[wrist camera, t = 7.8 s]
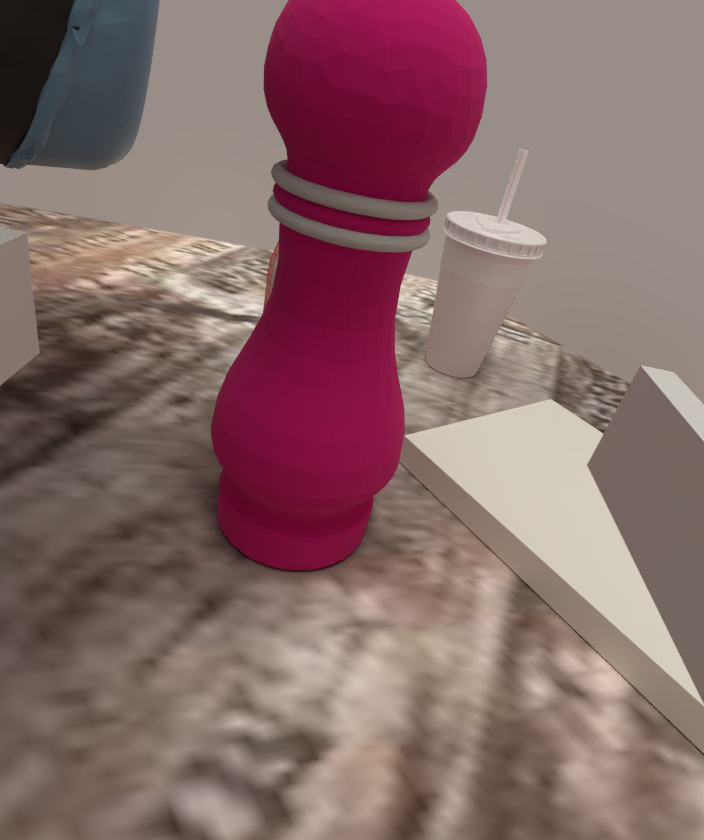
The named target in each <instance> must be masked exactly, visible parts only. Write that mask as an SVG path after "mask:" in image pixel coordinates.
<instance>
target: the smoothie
mask: <svg viewBox="0 0 704 840" xmlns="http://www.w3.org/2000/svg"><path fill="white" fill-rule="evenodd" d="M528 152H529V151H527V150H524V149H519V152H518V155H517V158H516V161H515V164H514V167H513V171H512V173H511V176H510V179H509V183H508V186H507V189H506V192H505V195H504V198H503V201H502V204H501V207H500V210H499V213H498V217H495V216H490V215H486V214H481V213H475V212H467V211H454V212H450V213H449V214H447V217H446V221H445V224H444V226H443V227H442V231H443V233H444V234H446V239H445V244H444V250H443V255H442V261H441V268H440V274H439V280H438V286H437V292H436V298H435V304H434V310H433V316H432V322H431V329H430V335H429V341H428V347H427V353H426V362H427V363H428V364H429V365H430V366H431V367H432V368H433V369H435V370H437V371H439V372H441V373H443V374H446V375H449V376H453V377H459V378H468V377H472V376H474V375H475V374H476V373H477V371H478V369H479V367H480V365H481V363H482V361H483V359H484V357H485V355H486V353H487V351H488V349H489V347H490V346H491V344H492V342H493V340H494V338H495V336H496V334H497V332H498V330H499V328H500V326H501V324H502V322H503V320H504V319H505V317H506V315H507V313H508V311H509V309H510V307H511V305H512V303H513V301H514V299H515V297H516V295H517V293H518V291H519V290H520V288H521V286H522V284H523V282H524V280H525V278H526V276H527V274H528V272H529V270H530V268H531V266H532V264H533V262H534V261H535V260H537V259H539V258H542V255H543V250H544V248H545V245H546V243H547V241H546V239H545V238H544V236H542V235H541V234H540V233H538V232H536V231H534V230H532V229H530V228H528V227H526V226H523V225H521V224H518V223H515V222H512V221H509V220H507V219H506V217H507V214H508V211H509V209H510V206H511V202H512V199H513V196H514V194H515V191H516V188H517V185H518V182H519V179H520V176H521V173H522V170H523V167H524V164H525V161H526V158H527V155H528Z"/></svg>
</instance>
